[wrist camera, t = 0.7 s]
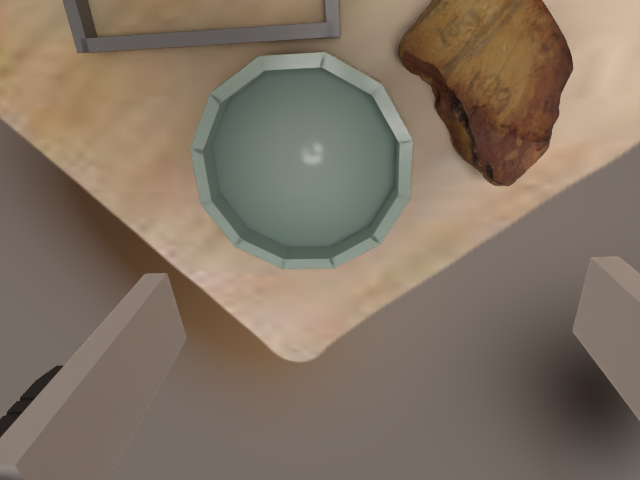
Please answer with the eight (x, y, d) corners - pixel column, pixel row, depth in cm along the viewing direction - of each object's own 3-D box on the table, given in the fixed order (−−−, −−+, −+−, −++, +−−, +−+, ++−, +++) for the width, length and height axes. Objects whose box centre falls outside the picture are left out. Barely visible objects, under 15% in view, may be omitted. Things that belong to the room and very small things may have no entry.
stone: (384, 28, 31) (391, 25, 27) (494, -59, 28) (523, -79, 24) (474, 179, 36) (493, 199, 31) (576, 118, 33) (613, 129, 29)
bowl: (189, 60, 33) (173, 61, 30) (410, 46, 31) (416, 46, 28) (224, 252, 41) (213, 269, 38) (402, 249, 39) (407, 267, 36)
